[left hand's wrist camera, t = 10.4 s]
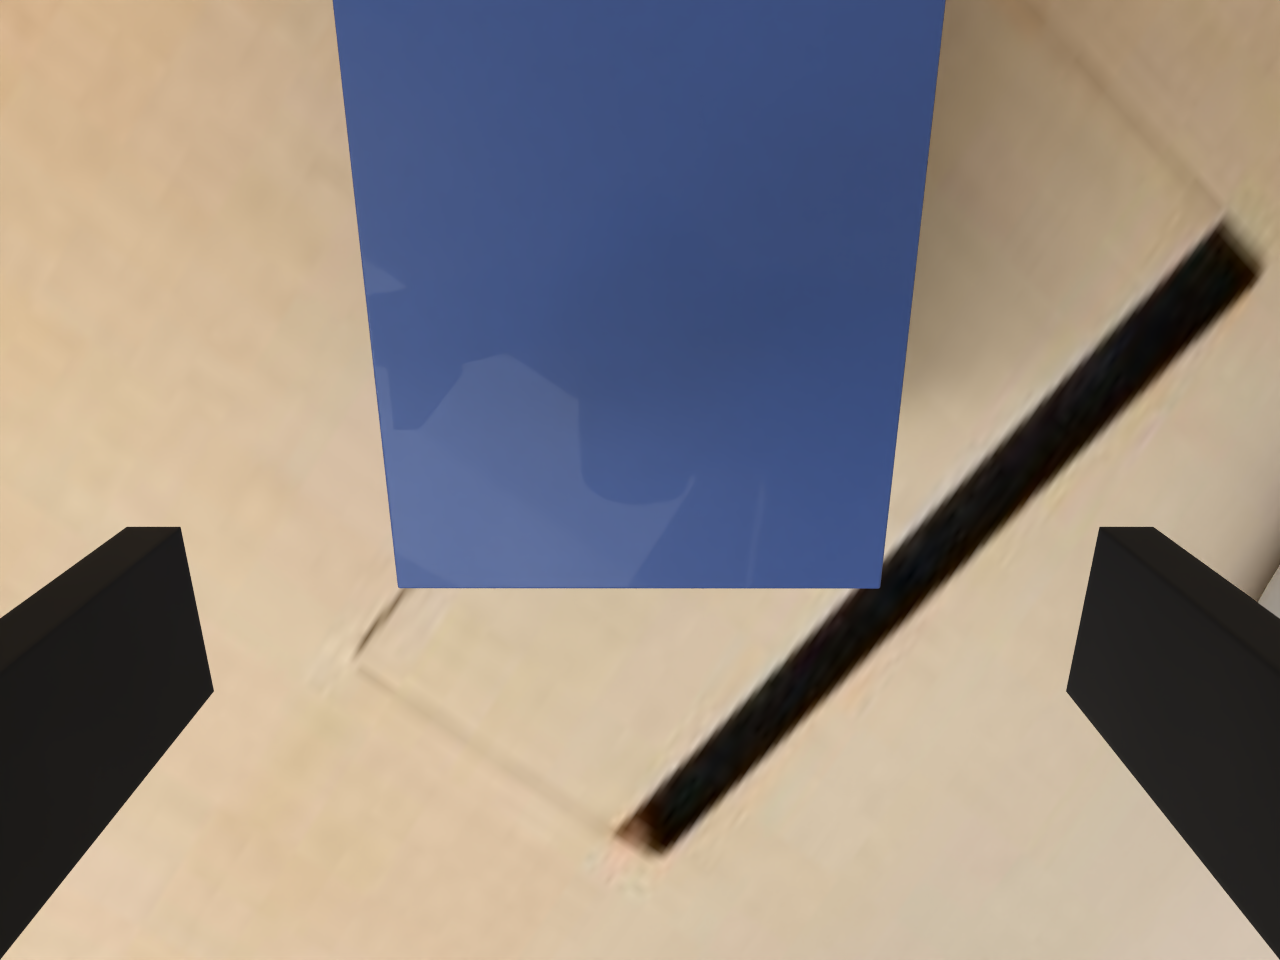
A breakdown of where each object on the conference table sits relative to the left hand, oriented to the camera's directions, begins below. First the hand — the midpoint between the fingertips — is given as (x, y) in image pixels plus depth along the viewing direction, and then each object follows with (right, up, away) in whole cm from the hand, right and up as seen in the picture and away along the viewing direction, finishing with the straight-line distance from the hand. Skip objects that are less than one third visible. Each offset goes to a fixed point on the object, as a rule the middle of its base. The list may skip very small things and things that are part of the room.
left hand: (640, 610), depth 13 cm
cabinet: (0, +11, +15) cm, 19 cm away
